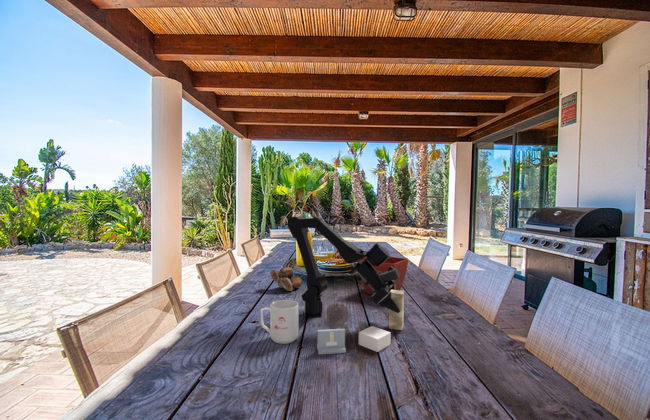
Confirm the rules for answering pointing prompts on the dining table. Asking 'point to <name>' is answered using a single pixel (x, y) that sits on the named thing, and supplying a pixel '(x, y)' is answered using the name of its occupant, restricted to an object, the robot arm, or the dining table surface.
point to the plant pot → (391, 261)
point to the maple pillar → (395, 318)
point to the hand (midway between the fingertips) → (400, 308)
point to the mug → (282, 321)
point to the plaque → (331, 341)
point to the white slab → (374, 338)
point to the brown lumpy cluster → (286, 279)
